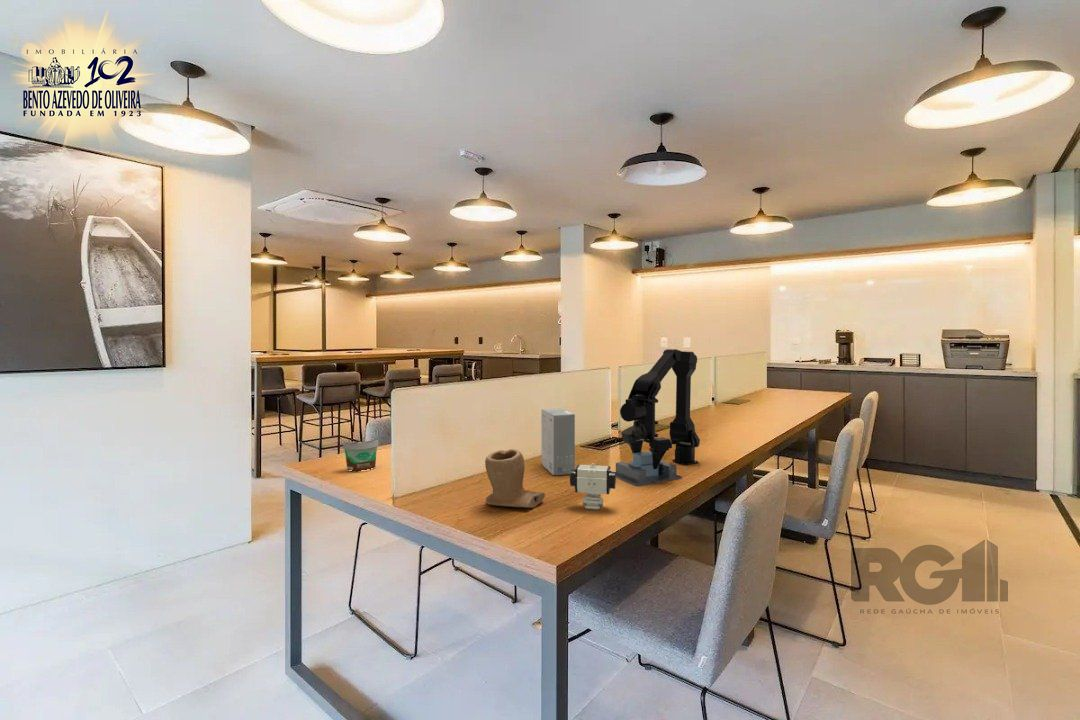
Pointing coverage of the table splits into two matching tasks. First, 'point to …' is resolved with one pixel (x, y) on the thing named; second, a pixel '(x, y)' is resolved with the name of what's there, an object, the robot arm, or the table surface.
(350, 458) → the food container
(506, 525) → the table surface
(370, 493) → the table surface
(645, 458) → the block
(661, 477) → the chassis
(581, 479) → the pneumatic valve
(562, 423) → the hard drive box
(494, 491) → the brown hollow cup shape
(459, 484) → the table surface
